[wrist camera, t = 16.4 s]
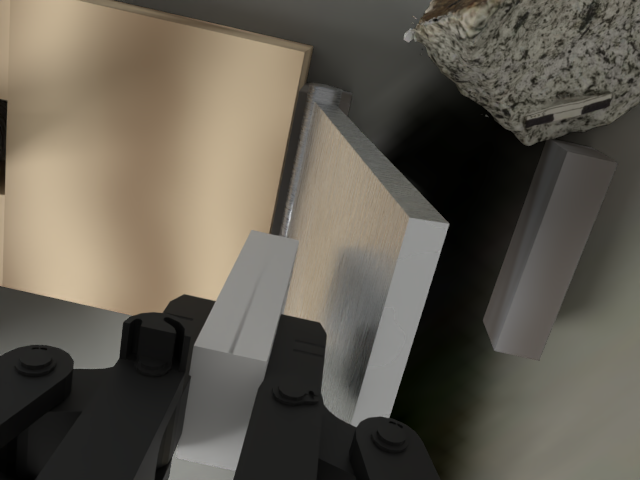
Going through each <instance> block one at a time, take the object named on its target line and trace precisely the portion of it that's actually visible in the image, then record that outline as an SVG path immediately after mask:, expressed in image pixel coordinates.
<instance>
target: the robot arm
mask: <svg viewBox="0 0 640 480" xmlns="http://www.w3.org/2000/svg"><path fill="white" fill-rule="evenodd" d="M298 244H299V240H295V239H290V238H286V237H281V236H277V235H272V234H268V233H263V232H259V231H254V230H251V232H250V234H249V236H248V238H247V240H246V242H245V244H244V246H243V248H242V250H241V252H240V254H239V256H238V258H237V260H236V262H235V264H234V266H233V268H232V270H231V272H230V274H229V276H228V278H227V280H226V282H225V284H224V286H223V288H222V290H221V292H220V294H219V296H218V298H217V300H216V301H213V300H209V299H204V298H200V297H195V296H191V295H186V294H183V295H181V296H180V297H178V298H176V299H174V300H172V301H170V302H169V304H168V305H167V307H166V308H165V310H164V311H163V313H157V312H149V313H140V314H137V315H134V316H131V317H129V318H128V319H127V320H126V321H124V322H123V330H122V339H121V348H120V358H119V360H118V361H117V363H116V364H115V366H114V367H110V368H105V369H73V364H74V361H73V359H72V358H71V356H70V355H69V354H68V353H66V352H65V351H63V350H61V349H59V348H55V347H51V346H47V345H31V346H25V347H19V348H17V349H14V350H12V351H9V352H7V353H5V354H3V355H2V356H0V480H168V478H169V474H170V468H171V461H172V456H173V454H174V451H175V449H176V447H177V444H178V448H177V454H176V458H177V459H182V460H187V461H191V462H196V463H201V464H205V465H209V466H214V467H219V468H223V469H228V470H233V471H236V472H235V476H234V479H233V480H440V478H439V476H438V474H437V471H436V469H435V467H434V465H433V463H432V461H431V459H430V457H429V454H428V452H427V450H426V448H425V446H424V444H423V442H422V440H421V439H420V437H419V436H418V435H417V433H416V432H415V431H414V430H412V429H411V428H410V427H408V426H407V425H406V424H404V423H401V422H399V421H397V420H395V419H391V418H386V417H369V418H367V419H365V420H363V421H361V422H360V423H359V424H358V426H357V427H355V426H353V425H351V424H349V423H346V422H345V421H343V420H341V419H339V418H337V417H336V416H335V415H333V414H332V413H331V412H330V411H329V410H328V409H327V408H326V406H325V405H324V402H323V397H322V394H321V388H322V378H323V368H324V359H325V358H324V357H325V348H326V340H327V334H326V332H325V330H324V328H323V327H322V325H321V323H320V322H316V321H311V320H307V319H302V318H297V317H293V316H288V315H284V310H285V305H286V300H287V296H288V291H289V286H290V282H291V277H292V272H293V268H294V263H295V258H296V254H297V249H298Z"/></svg>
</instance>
